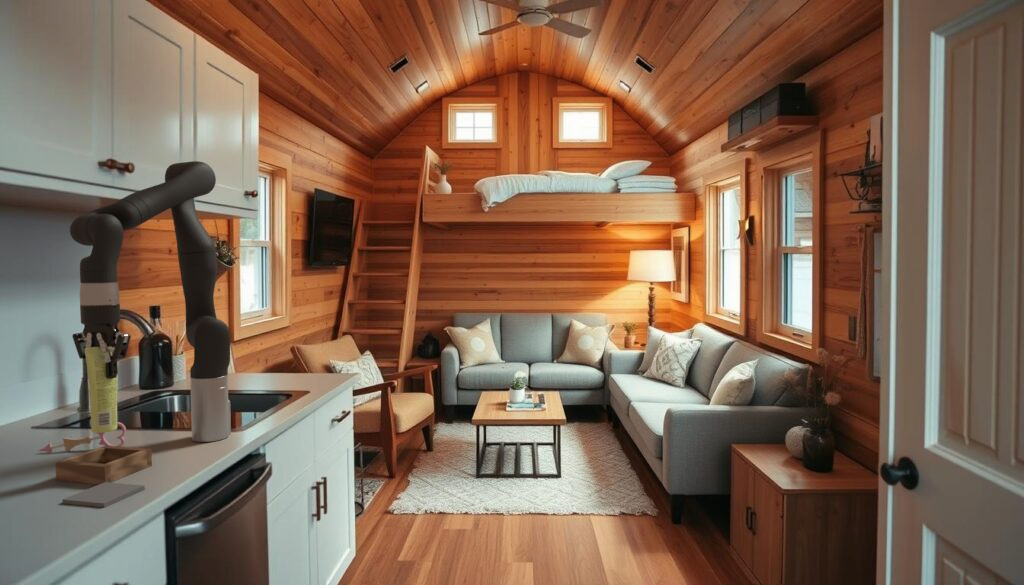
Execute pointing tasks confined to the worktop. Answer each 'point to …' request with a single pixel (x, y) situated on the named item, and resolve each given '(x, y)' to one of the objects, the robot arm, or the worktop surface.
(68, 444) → the decorative key
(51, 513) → the worktop surface
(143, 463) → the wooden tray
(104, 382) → the tube
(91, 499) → the pad
